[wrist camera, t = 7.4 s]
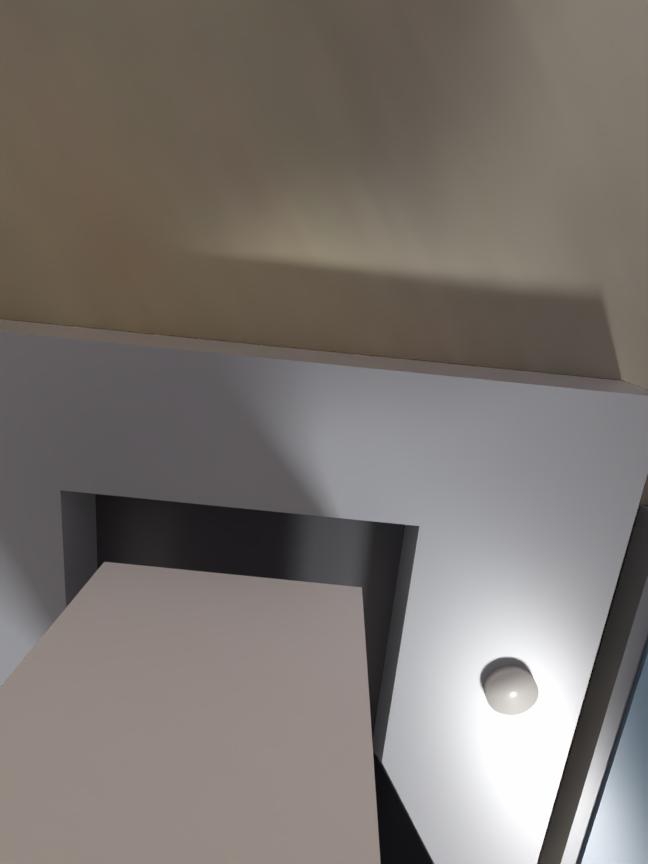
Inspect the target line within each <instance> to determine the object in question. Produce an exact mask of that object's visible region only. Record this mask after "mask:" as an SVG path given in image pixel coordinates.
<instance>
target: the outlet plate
mask: <svg viewBox="0 0 648 864" xmlns="http://www.w3.org/2000/svg"><path fill="white" fill-rule="evenodd" d="M647 474H648V390H646V389H644V388H641V387H638V386H636V385H633V384H630V383H628V382H625V381H620V380H610V379H600V378H590V377H580V376H569V375H559V374H549V373H539V372H529V371H519V370H509V369H499V368H489V367H479V366H468V365H458V364H448V363H438V362H428V361H418V360H408V359H398V358H388V357H377V356H367V355H357V354H347V353H337V352H327V351H317V350H307V349H297V348H287V347H276V346H266V345H256V344H246V343H236V342H226V341H216V340H206V339H196V338H186V337H175V336H165V335H155V334H145V333H135V332H125V331H115V330H105V329H95V328H85V327H74V326H64V325H54V324H44V323H34V322H24V321H14V320H4V319H0V687H1V686H2V685H3V683H4V682H5V681H6V680H7V679H8V677H9V676H10V675H11V674H12V673H13V671H14V670H15V669H16V668H17V667H18V665H19V664H20V663H21V662H22V660H23V659H24V658H25V657H26V656H27V654H28V653H29V652H30V651H31V650H32V648H33V647H34V646H35V645H36V644H37V642H38V641H39V640H40V639H41V638H42V636H43V635H44V634H45V633H46V632H47V630H48V629H49V628H50V627H51V625H52V624H53V623H54V622H55V621H56V619H57V618H58V617H59V616H60V615H61V613H62V612H63V611H64V610H65V609H66V607H67V606H68V605H69V604H70V603H71V601H72V600H73V599H74V598H75V596H76V595H77V594H78V593H79V592H80V590H81V589H82V588H83V587H84V586H85V584H86V583H87V582H88V581H89V580H90V578H91V577H92V576H93V575H94V574H95V572H96V571H97V570H98V569H99V567H100V566H101V565H102V564H103V563H104V562H112V563H122V564H132V565H143V566H153V567H163V568H173V569H183V570H193V571H203V572H213V573H223V574H233V575H243V576H253V577H263V578H273V579H283V580H293V581H303V582H314V583H324V584H334V585H344V586H354V587H362V596H363V611H364V626H365V640H366V655H367V670H368V685H369V699H370V714H371V729H372V744H373V752H375V753H376V754H377V755H378V756H379V758H380V760H381V761H382V763H383V765H384V767H385V769H386V771H387V773H388V775H389V777H390V779H391V781H392V783H393V785H394V787H395V788H396V790H397V792H398V794H399V796H400V798H401V800H402V802H403V804H404V806H405V808H406V810H407V812H408V814H409V816H410V817H411V819H412V821H413V823H414V825H415V827H416V829H417V831H418V833H419V835H420V837H421V839H422V841H423V843H424V845H425V846H426V848H427V850H428V852H429V854H430V856H431V858H432V860H433V862H434V864H537V861H538V858H539V854H540V851H541V847H542V844H543V840H544V837H545V833H546V830H547V826H548V823H549V819H550V816H551V812H552V809H553V805H554V802H555V798H556V795H557V791H558V788H559V784H560V780H561V777H562V773H563V770H564V766H565V763H566V759H567V756H568V752H569V749H570V745H571V742H572V738H573V735H574V731H575V728H576V724H577V721H578V717H579V714H580V710H581V707H582V703H583V700H584V696H585V693H586V689H587V686H588V682H589V678H590V675H591V671H592V668H593V664H594V661H595V657H596V654H597V650H598V647H599V643H600V640H601V636H602V633H603V629H604V626H605V622H606V619H607V615H608V612H609V608H610V605H611V601H612V598H613V594H614V591H615V587H616V584H617V580H618V576H619V573H620V569H621V566H622V562H623V559H624V555H625V552H626V548H627V545H628V541H629V538H630V534H631V531H632V527H633V524H634V520H635V517H636V513H637V510H638V506H639V503H640V499H641V496H642V492H643V489H644V485H645V482H646V478H647Z"/></svg>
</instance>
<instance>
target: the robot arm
mask: <svg viewBox="0 0 648 864" xmlns="http://www.w3.org/2000/svg"><path fill="white" fill-rule="evenodd" d="M373 759H374V773H375V788H376V803H377V818H378V832H379V847H380V862H381V864H434V862H433V860H432V858H431V856H430V854H429V852H428V850H427V848H426V846H425V845H424V843H423V841H422V839H421V837H420V835H419V833H418V831H417V829H416V827H415V825H414V823H413V821H412V819H411V817H410V816H409V814H408V812H407V810H406V808H405V806H404V804H403V802H402V800H401V798H400V796H399V794H398V792H397V790H396V788H395V787H394V785H393V783H392V781H391V779H390V777H389V775H388V773H387V771H386V769H385V767H384V765H383V763H382V761H381V760H380V758H379V756H378V755H377V754H376V753H375V752H373Z"/></svg>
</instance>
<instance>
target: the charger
mask: <svg viewBox="0 0 648 864" xmlns="http://www.w3.org/2000/svg"><path fill="white" fill-rule="evenodd" d="M0 864H381V862H380V847H379V832H378V818H377V803H376V788H375V773H374V759H373V744H372V729H371V714H370V699H369V685H368V670H367V655H366V640H365V626H364V611H363V596H362V587H354V586H344V585H334V584H324V583H314V582H303V581H293V580H283V579H273V578H263V577H253V576H243V575H233V574H223V573H213V572H203V571H193V570H183V569H173V568H163V567H153V566H143V565H132V564H122V563H112V562H104V563H103V564H102V565H101V566H100V567H99V569H98V570H97V571H96V572H95V574H94V575H93V576H92V577H91V578H90V580H89V581H88V582H87V583H86V584H85V586H84V587H83V588H82V589H81V590H80V592H79V593H78V594H77V595H76V596H75V598H74V599H73V600H72V601H71V603H70V604H69V605H68V606H67V607H66V609H65V610H64V611H63V612H62V613H61V615H60V616H59V617H58V618H57V619H56V621H55V622H54V623H53V624H52V625H51V627H50V628H49V629H48V630H47V632H46V633H45V634H44V635H43V636H42V638H41V639H40V640H39V641H38V642H37V644H36V645H35V646H34V647H33V648H32V650H31V651H30V652H29V653H28V654H27V656H26V657H25V658H24V659H23V660H22V662H21V663H20V664H19V665H18V667H17V668H16V669H15V670H14V671H13V673H12V674H11V675H10V676H9V677H8V679H7V680H6V681H5V682H4V683H3V685H2V686H1V687H0Z"/></svg>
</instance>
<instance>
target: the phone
mask: <svg viewBox="0 0 648 864" xmlns="http://www.w3.org/2000/svg"><path fill="white" fill-rule="evenodd" d="M539 864H648V506H645V505H641V507H640V510H639V514H638V517H637V521H636V524H635V528H634V531H633V535H632V538H631V542H630V545H629V549H628V552H627V556H626V559H625V563H624V566H623V570H622V573H621V577H620V580H619V584H618V587H617V591H616V594H615V598H614V601H613V605H612V608H611V612H610V615H609V619H608V622H607V626H606V629H605V633H604V636H603V640H602V643H601V647H600V650H599V654H598V657H597V661H596V664H595V668H594V671H593V675H592V678H591V682H590V685H589V689H588V692H587V696H586V699H585V703H584V706H583V710H582V713H581V717H580V720H579V724H578V727H577V731H576V734H575V738H574V741H573V745H572V748H571V752H570V755H569V759H568V762H567V766H566V769H565V773H564V776H563V780H562V783H561V787H560V790H559V794H558V798H557V801H556V805H555V808H554V812H553V815H552V819H551V822H550V826H549V829H548V833H547V836H546V840H545V843H544V847H543V850H542V854H541V857H540V861H539Z"/></svg>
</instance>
